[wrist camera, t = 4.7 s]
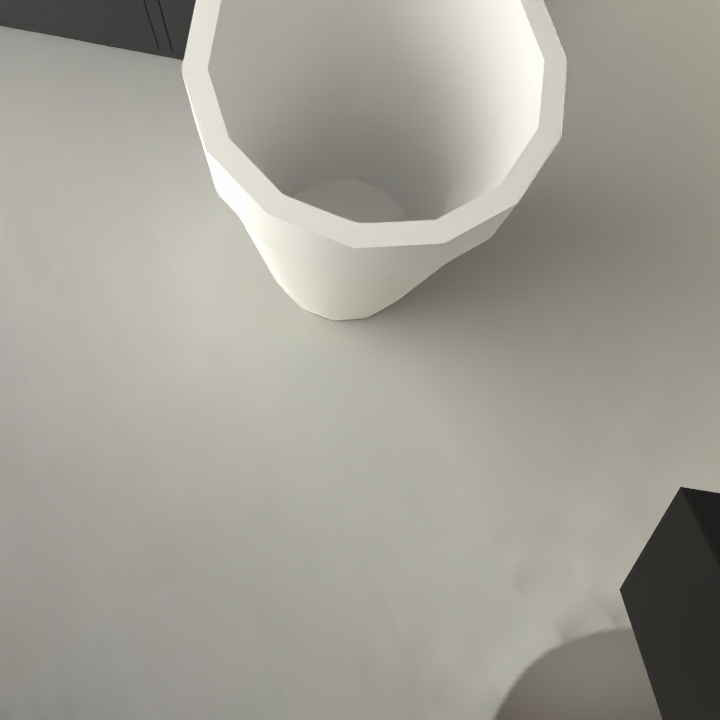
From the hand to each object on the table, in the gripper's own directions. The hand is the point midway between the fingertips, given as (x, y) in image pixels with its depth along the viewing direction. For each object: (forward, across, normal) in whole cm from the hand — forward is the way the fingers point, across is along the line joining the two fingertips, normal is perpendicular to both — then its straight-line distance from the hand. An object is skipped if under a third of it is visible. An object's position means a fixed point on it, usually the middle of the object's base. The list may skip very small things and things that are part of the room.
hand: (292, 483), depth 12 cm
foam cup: (+18, 0, -4) cm, 19 cm away
